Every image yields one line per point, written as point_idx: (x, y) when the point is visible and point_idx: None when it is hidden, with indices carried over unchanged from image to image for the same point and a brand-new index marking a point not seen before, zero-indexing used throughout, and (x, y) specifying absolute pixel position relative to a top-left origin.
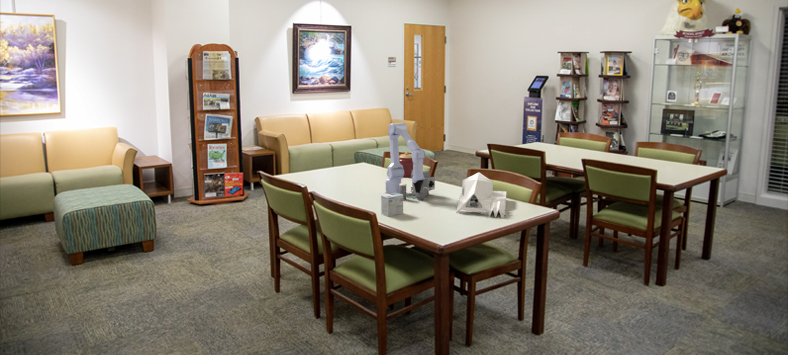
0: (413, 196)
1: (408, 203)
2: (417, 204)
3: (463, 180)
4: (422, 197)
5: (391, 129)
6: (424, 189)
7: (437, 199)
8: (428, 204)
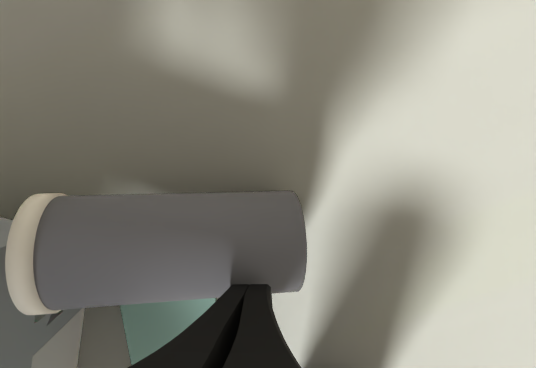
0: (161, 345)
1: (501, 283)
2: (517, 162)
3: None
4: (290, 193)
5: None
6: (102, 259)
7: (122, 22)
8: (462, 15)
